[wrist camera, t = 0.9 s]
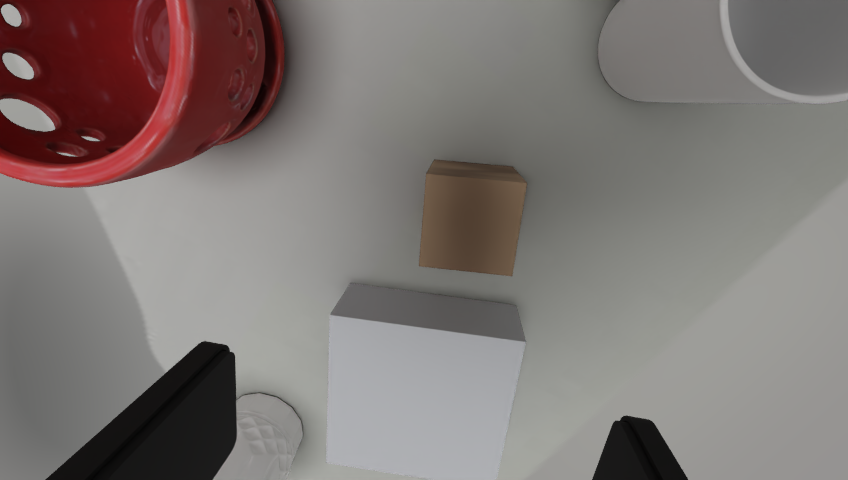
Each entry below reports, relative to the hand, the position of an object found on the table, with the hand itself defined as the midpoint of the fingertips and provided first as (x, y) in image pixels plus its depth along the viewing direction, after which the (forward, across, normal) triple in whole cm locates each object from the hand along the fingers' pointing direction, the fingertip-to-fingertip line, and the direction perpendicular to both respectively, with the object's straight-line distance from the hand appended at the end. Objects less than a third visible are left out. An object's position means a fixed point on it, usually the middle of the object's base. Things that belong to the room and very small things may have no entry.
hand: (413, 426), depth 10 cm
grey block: (+18, 0, +11) cm, 22 cm away
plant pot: (+18, +16, -9) cm, 26 cm away
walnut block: (+18, -1, -2) cm, 18 cm away
